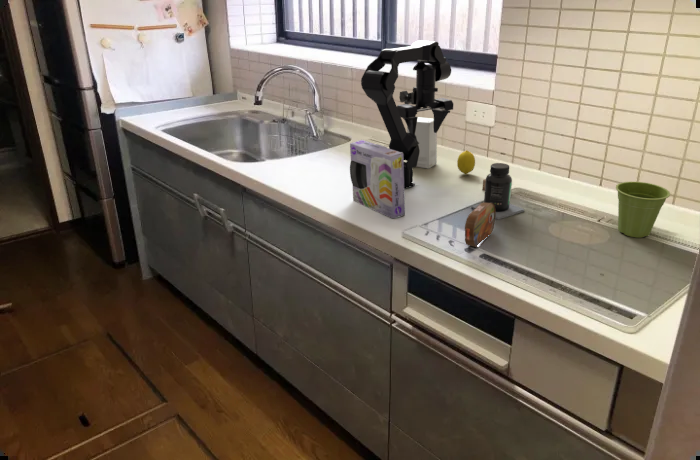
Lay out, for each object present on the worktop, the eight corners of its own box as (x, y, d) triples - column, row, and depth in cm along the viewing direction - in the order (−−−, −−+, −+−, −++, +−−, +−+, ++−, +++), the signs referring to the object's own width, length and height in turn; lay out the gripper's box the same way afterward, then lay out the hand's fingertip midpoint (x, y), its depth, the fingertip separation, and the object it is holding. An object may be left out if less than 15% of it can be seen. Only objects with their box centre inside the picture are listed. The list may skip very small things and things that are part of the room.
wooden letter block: (496, 194, 171) (497, 183, 169) (482, 190, 174) (483, 179, 173) (506, 190, 174) (507, 179, 172) (491, 186, 177) (492, 175, 176)
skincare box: (437, 164, 198) (438, 118, 191) (428, 169, 193) (430, 122, 186) (414, 160, 202) (415, 115, 195) (405, 165, 197) (406, 120, 190)
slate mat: (497, 219, 154) (497, 217, 153) (470, 208, 161) (471, 206, 161) (524, 211, 158) (524, 209, 158) (496, 200, 166) (497, 198, 166)
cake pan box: (349, 200, 169) (347, 140, 161) (363, 196, 171) (362, 137, 164) (391, 220, 154) (392, 156, 147) (405, 216, 157) (407, 152, 150)
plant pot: (620, 243, 139) (628, 199, 135) (600, 223, 150) (607, 181, 146) (670, 242, 139) (680, 198, 135) (647, 222, 150) (655, 180, 146)
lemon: (474, 177, 184) (475, 153, 181) (456, 176, 185) (457, 152, 182) (474, 172, 189) (476, 148, 186) (456, 171, 190) (458, 147, 187)
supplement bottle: (514, 208, 159) (519, 166, 154) (496, 214, 155) (500, 171, 150) (496, 201, 164) (500, 160, 159) (478, 206, 161) (481, 164, 156)
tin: (473, 252, 136) (476, 219, 133) (461, 250, 138) (463, 217, 134) (495, 230, 148) (498, 198, 144) (483, 227, 149) (486, 196, 146)
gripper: (432, 77, 187) (430, 125, 194) (384, 84, 178) (384, 134, 184) (455, 82, 179) (453, 132, 185) (407, 89, 169) (406, 142, 176)
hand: (423, 134), depth 183 cm, fingers open, 9 cm apart
